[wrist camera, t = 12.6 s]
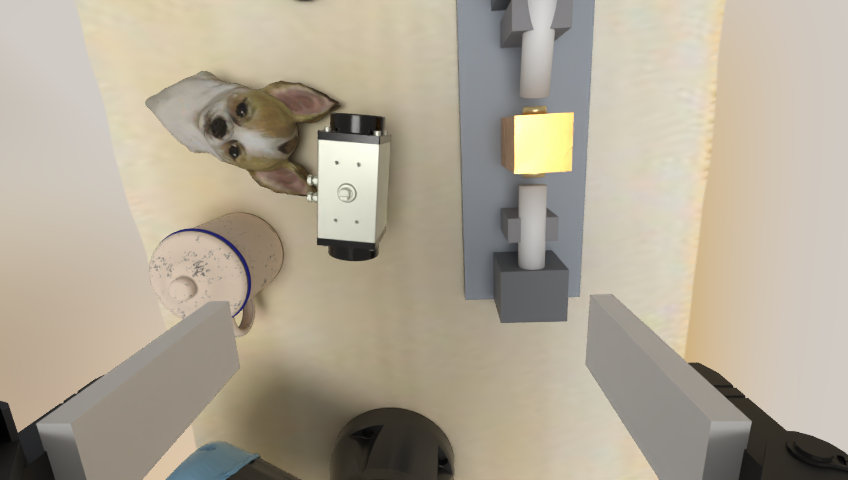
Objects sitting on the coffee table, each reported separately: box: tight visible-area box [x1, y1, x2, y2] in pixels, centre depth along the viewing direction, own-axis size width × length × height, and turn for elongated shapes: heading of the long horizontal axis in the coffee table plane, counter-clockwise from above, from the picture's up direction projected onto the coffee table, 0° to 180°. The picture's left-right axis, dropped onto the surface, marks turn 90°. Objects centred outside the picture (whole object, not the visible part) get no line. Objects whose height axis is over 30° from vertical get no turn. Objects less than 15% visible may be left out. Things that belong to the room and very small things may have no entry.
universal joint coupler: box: [501, 106, 574, 178], centre depth 35 cm, size 6×4×8 cm
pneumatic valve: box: [307, 113, 391, 261], centre depth 36 cm, size 6×12×12 cm, turn 176°
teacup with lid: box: [149, 213, 283, 337], centre depth 39 cm, size 12×9×12 cm
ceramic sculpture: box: [145, 71, 341, 196], centre depth 37 cm, size 11×9×15 cm
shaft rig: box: [457, 0, 595, 323], centre depth 36 cm, size 32×12×9 cm, turn 3°
